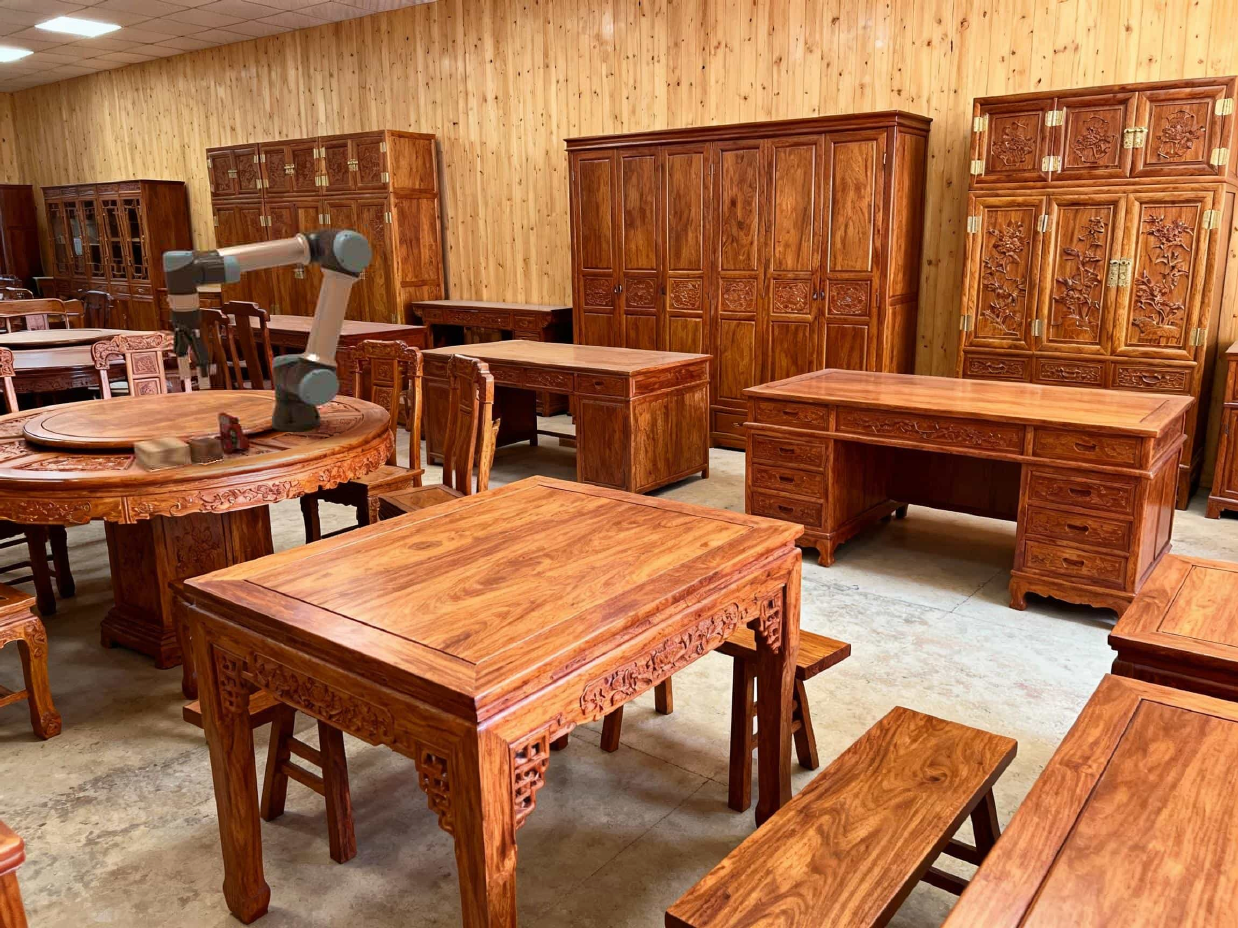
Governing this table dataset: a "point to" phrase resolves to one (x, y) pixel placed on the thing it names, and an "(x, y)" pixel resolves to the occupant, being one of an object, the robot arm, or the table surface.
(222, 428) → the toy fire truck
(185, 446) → the birch block
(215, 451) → the walnut cube
